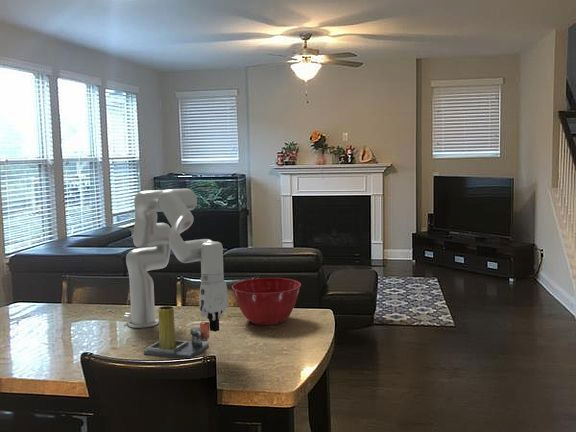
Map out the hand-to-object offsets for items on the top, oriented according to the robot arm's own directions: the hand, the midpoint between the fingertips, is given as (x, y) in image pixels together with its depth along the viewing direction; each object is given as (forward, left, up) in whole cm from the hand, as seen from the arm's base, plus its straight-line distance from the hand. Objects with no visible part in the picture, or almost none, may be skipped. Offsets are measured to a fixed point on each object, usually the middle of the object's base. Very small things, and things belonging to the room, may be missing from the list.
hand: (214, 330), depth 207 cm
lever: (-6, +1, -3) cm, 7 cm away
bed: (-16, +1, -9) cm, 18 cm away
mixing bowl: (+1, +46, -9) cm, 47 cm away
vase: (-19, 0, -8) cm, 20 cm away
